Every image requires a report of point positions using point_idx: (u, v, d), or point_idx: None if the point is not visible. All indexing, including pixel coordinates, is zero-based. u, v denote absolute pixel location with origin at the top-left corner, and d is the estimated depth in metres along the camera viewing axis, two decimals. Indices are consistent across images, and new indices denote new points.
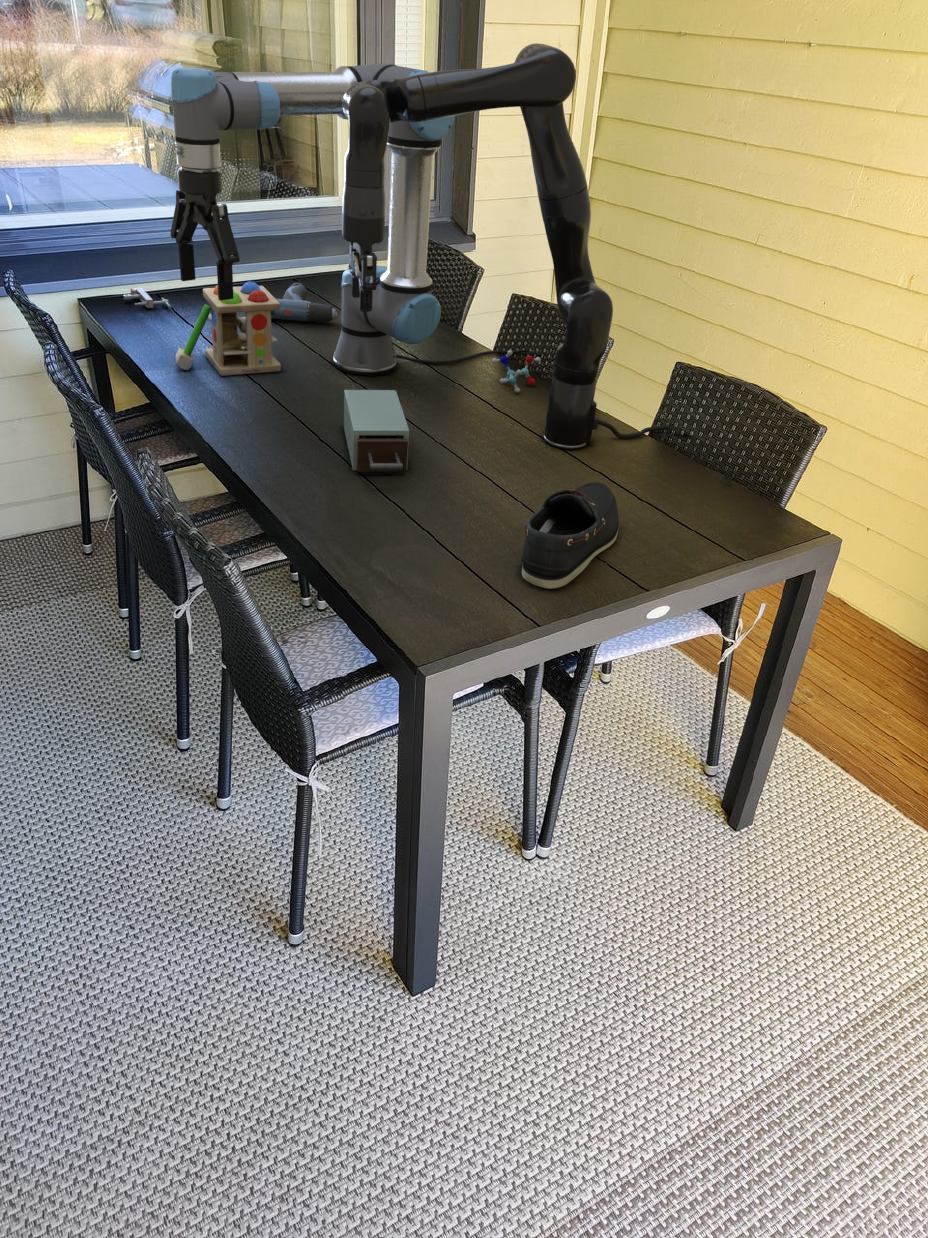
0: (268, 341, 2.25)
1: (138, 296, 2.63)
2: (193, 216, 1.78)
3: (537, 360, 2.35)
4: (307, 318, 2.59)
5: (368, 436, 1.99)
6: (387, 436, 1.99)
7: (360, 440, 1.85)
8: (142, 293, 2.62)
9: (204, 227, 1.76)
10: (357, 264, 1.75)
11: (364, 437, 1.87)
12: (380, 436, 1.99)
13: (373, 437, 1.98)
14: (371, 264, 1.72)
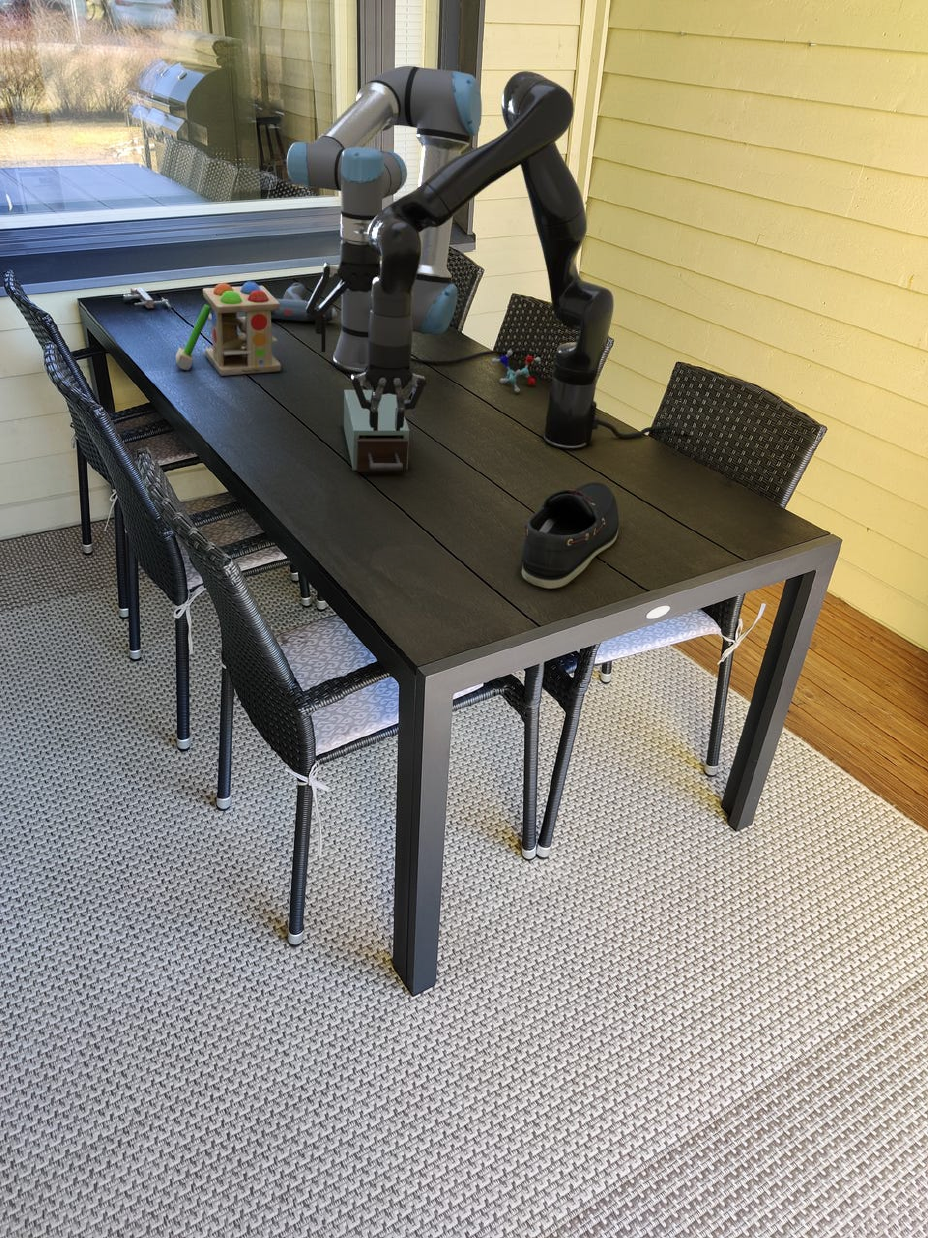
0: (268, 341, 2.25)
1: (138, 296, 2.63)
2: (353, 286, 1.86)
3: (537, 360, 2.35)
4: (307, 318, 2.59)
5: (368, 436, 1.99)
6: (387, 436, 1.99)
7: (360, 440, 1.85)
8: (142, 293, 2.62)
9: None
10: None
11: (364, 437, 1.87)
12: (380, 436, 1.99)
13: (373, 437, 1.98)
14: None
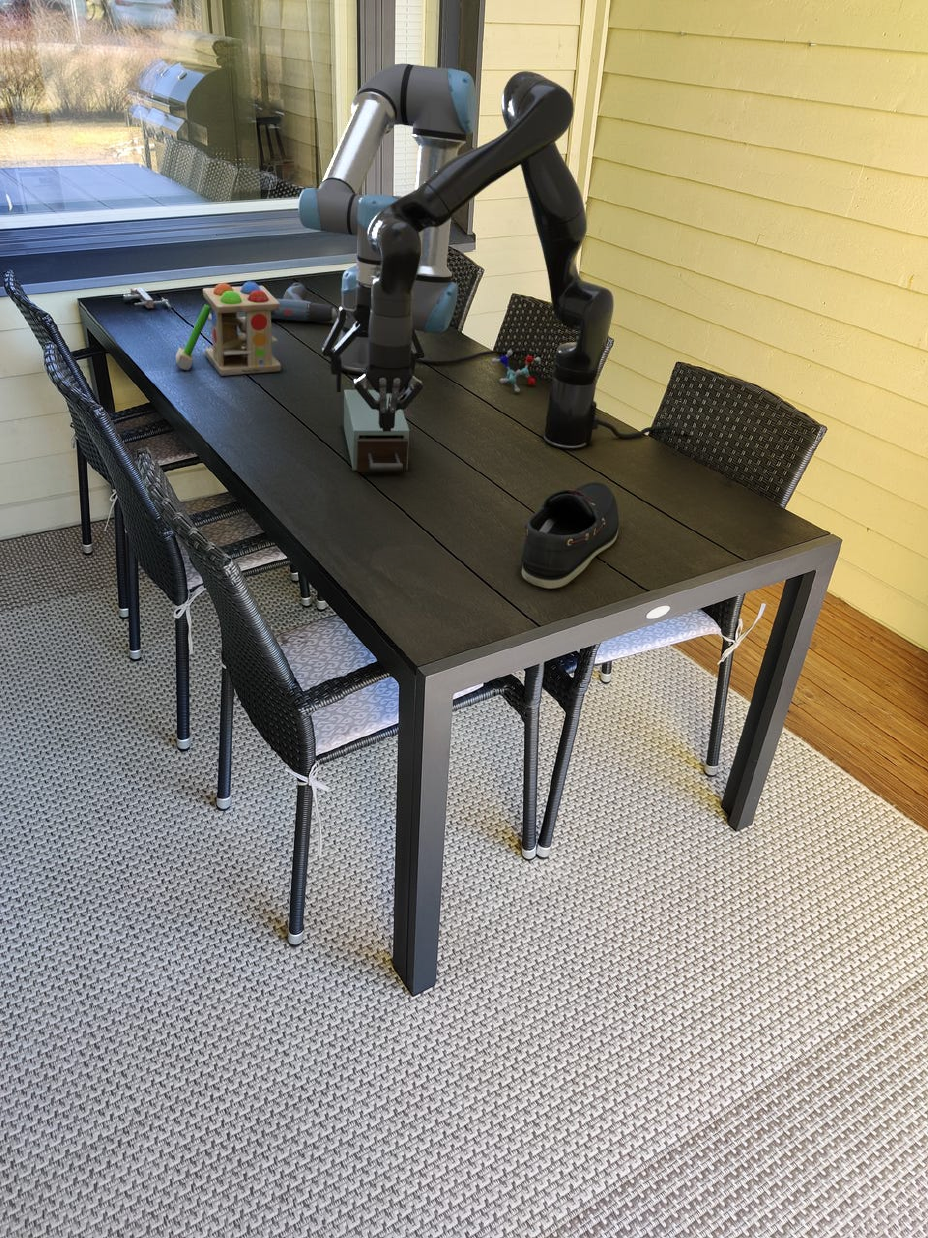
0: (268, 341, 2.25)
1: (138, 296, 2.63)
2: None
3: (537, 360, 2.35)
4: (307, 318, 2.59)
5: (368, 436, 1.99)
6: (387, 436, 1.99)
7: (360, 440, 1.85)
8: (142, 293, 2.62)
9: None
10: None
11: (364, 437, 1.87)
12: (380, 436, 1.99)
13: (373, 437, 1.98)
14: None
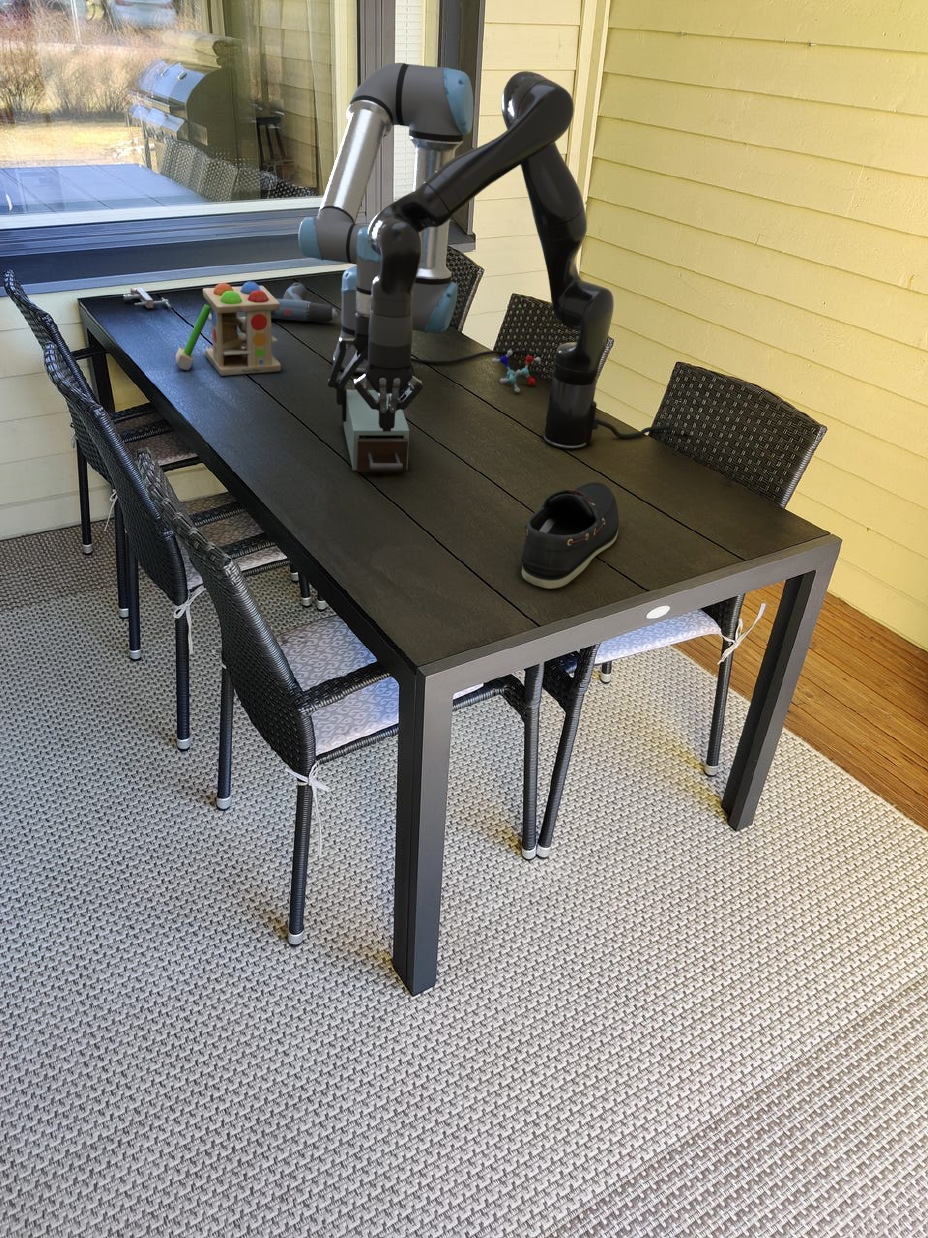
0: (268, 341, 2.25)
1: (138, 296, 2.63)
2: None
3: (537, 360, 2.35)
4: (307, 318, 2.59)
5: (368, 436, 1.99)
6: (387, 436, 1.99)
7: (360, 440, 1.85)
8: (142, 293, 2.62)
9: None
10: None
11: (364, 437, 1.87)
12: (380, 436, 1.99)
13: (373, 437, 1.98)
14: None
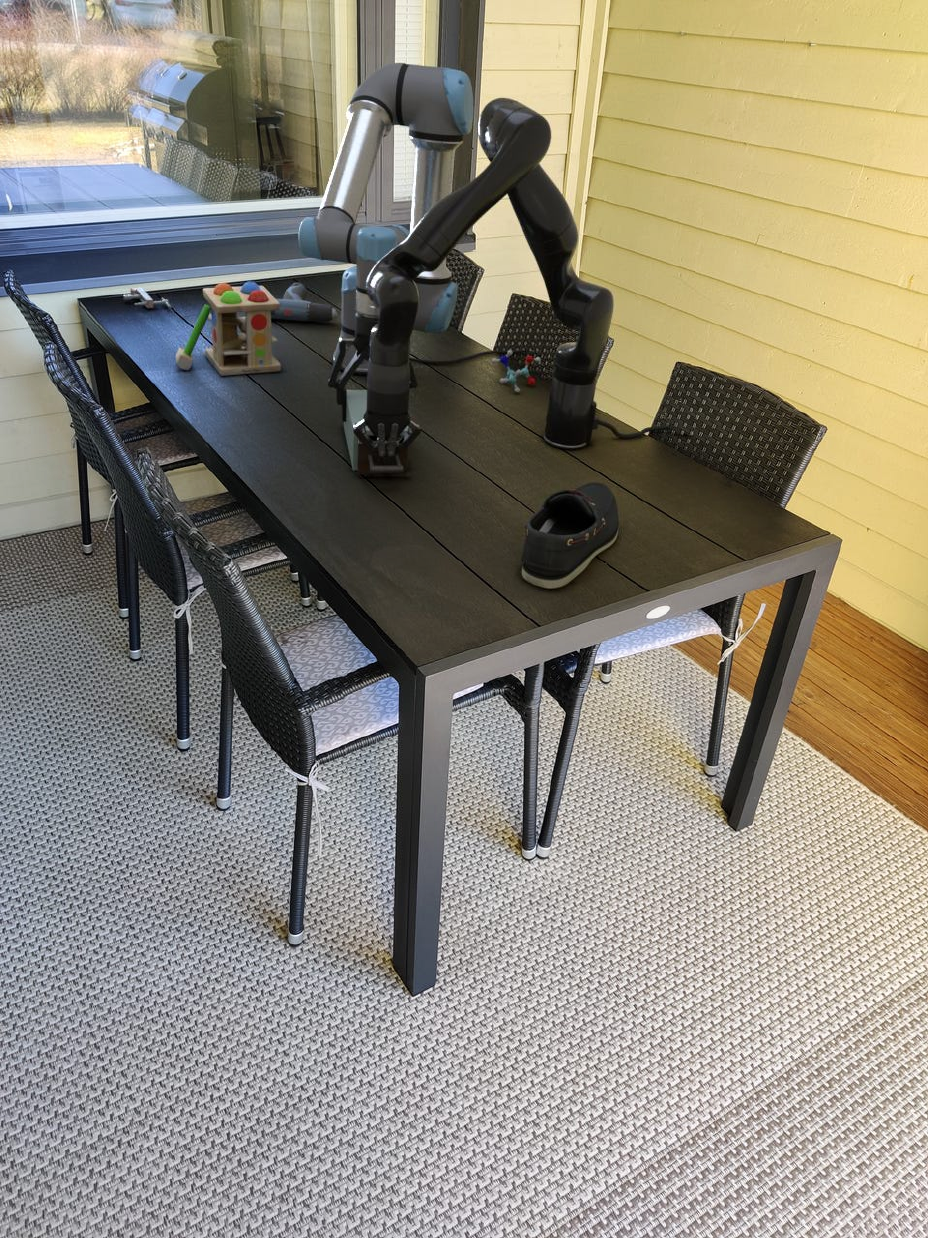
0: (268, 341, 2.25)
1: (138, 296, 2.63)
2: (368, 356, 1.94)
3: (537, 360, 2.35)
4: (307, 318, 2.59)
5: None
6: None
7: (360, 442, 1.84)
8: (142, 293, 2.62)
9: None
10: None
11: None
12: None
13: (374, 439, 1.98)
14: None
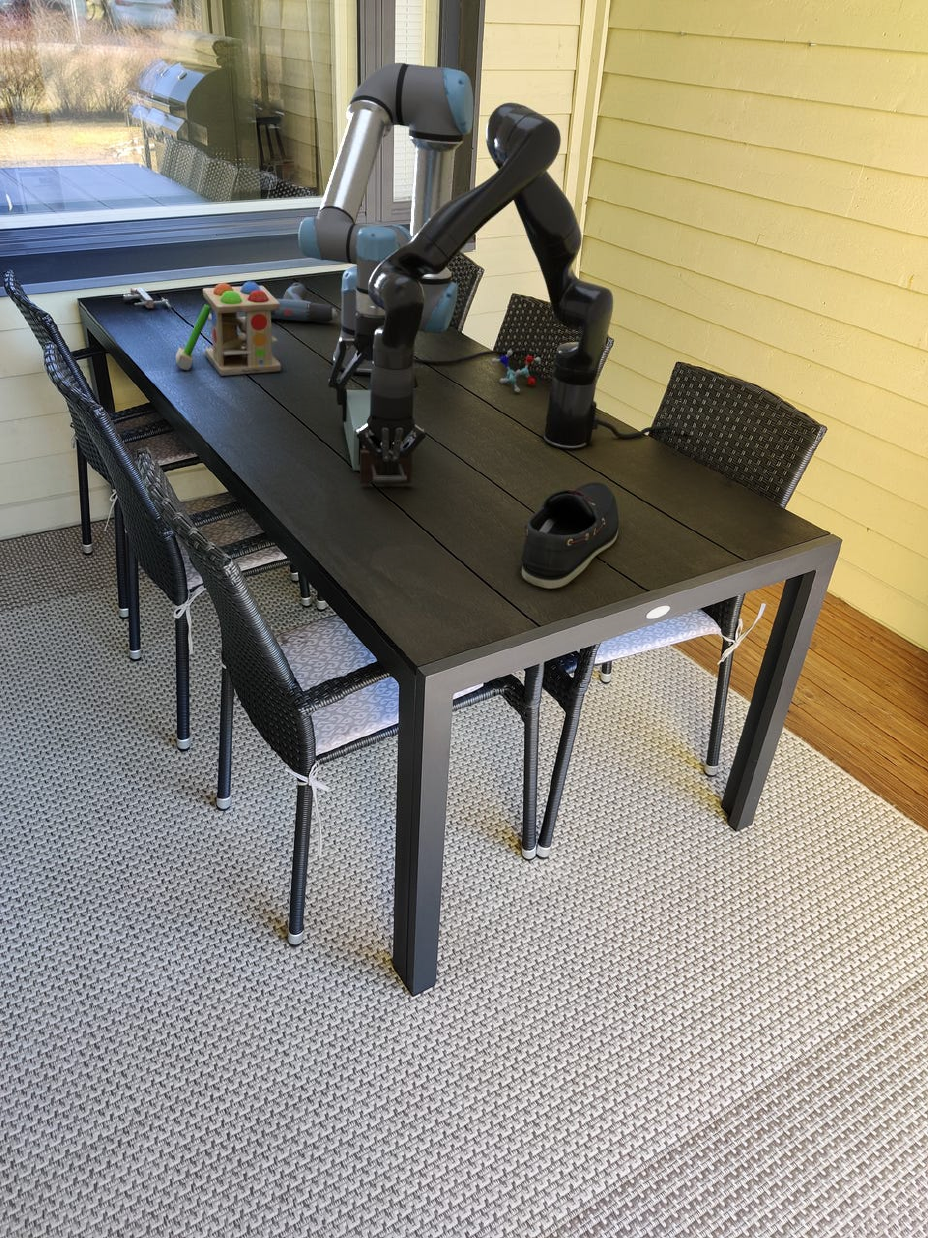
0: (268, 341, 2.25)
1: (138, 296, 2.63)
2: (368, 356, 1.94)
3: (537, 360, 2.35)
4: (307, 318, 2.59)
5: None
6: (390, 447, 1.95)
7: (363, 451, 1.80)
8: (142, 293, 2.62)
9: None
10: None
11: None
12: None
13: None
14: None
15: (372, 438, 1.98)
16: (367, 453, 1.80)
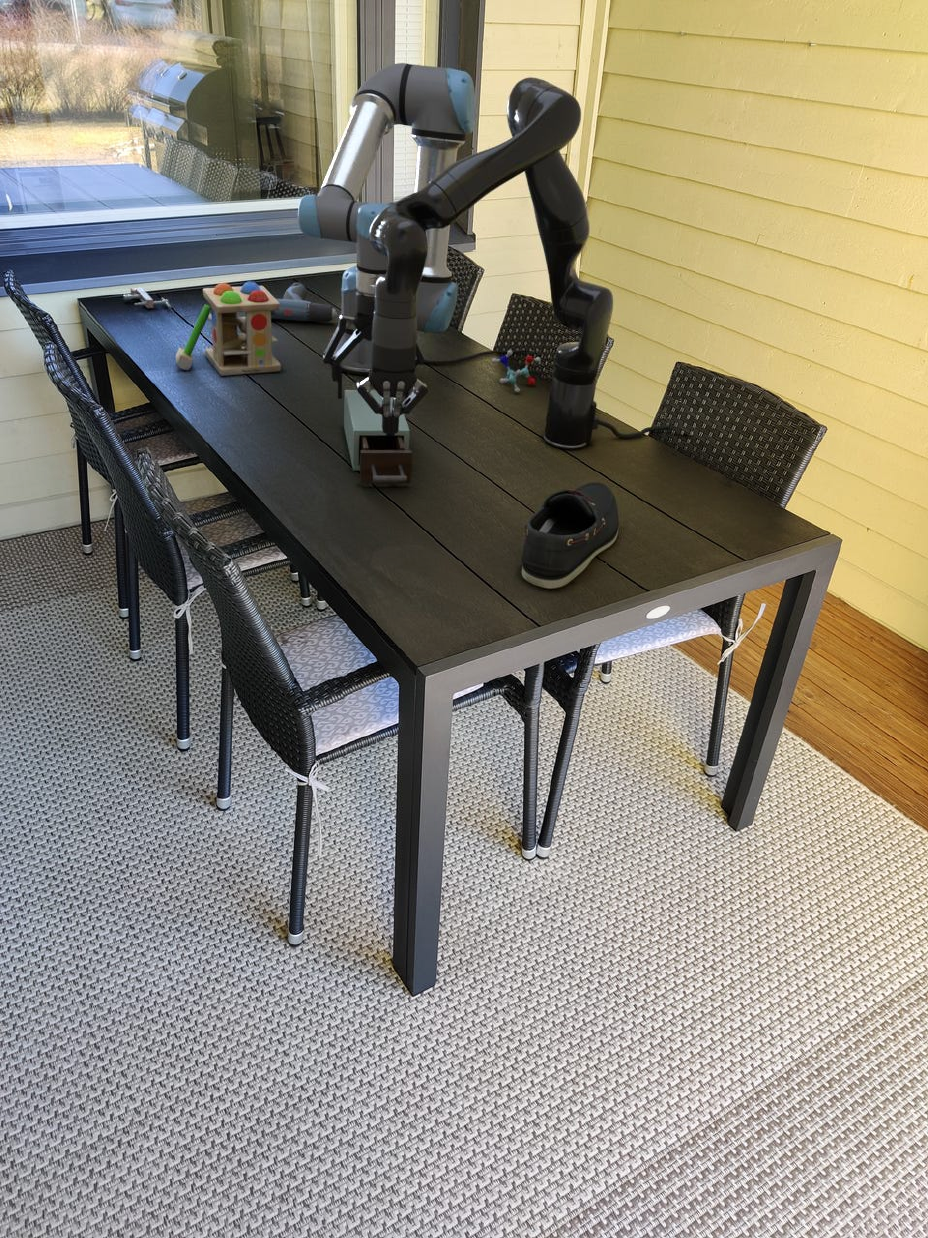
0: (268, 341, 2.25)
1: (138, 296, 2.63)
2: (369, 335, 1.92)
3: (537, 360, 2.35)
4: (307, 318, 2.59)
5: (371, 447, 1.95)
6: (390, 447, 1.95)
7: (363, 452, 1.80)
8: (142, 293, 2.62)
9: None
10: None
11: (367, 448, 1.83)
12: (383, 447, 1.95)
13: (376, 448, 1.94)
14: None
15: (372, 438, 1.98)
16: (367, 453, 1.80)
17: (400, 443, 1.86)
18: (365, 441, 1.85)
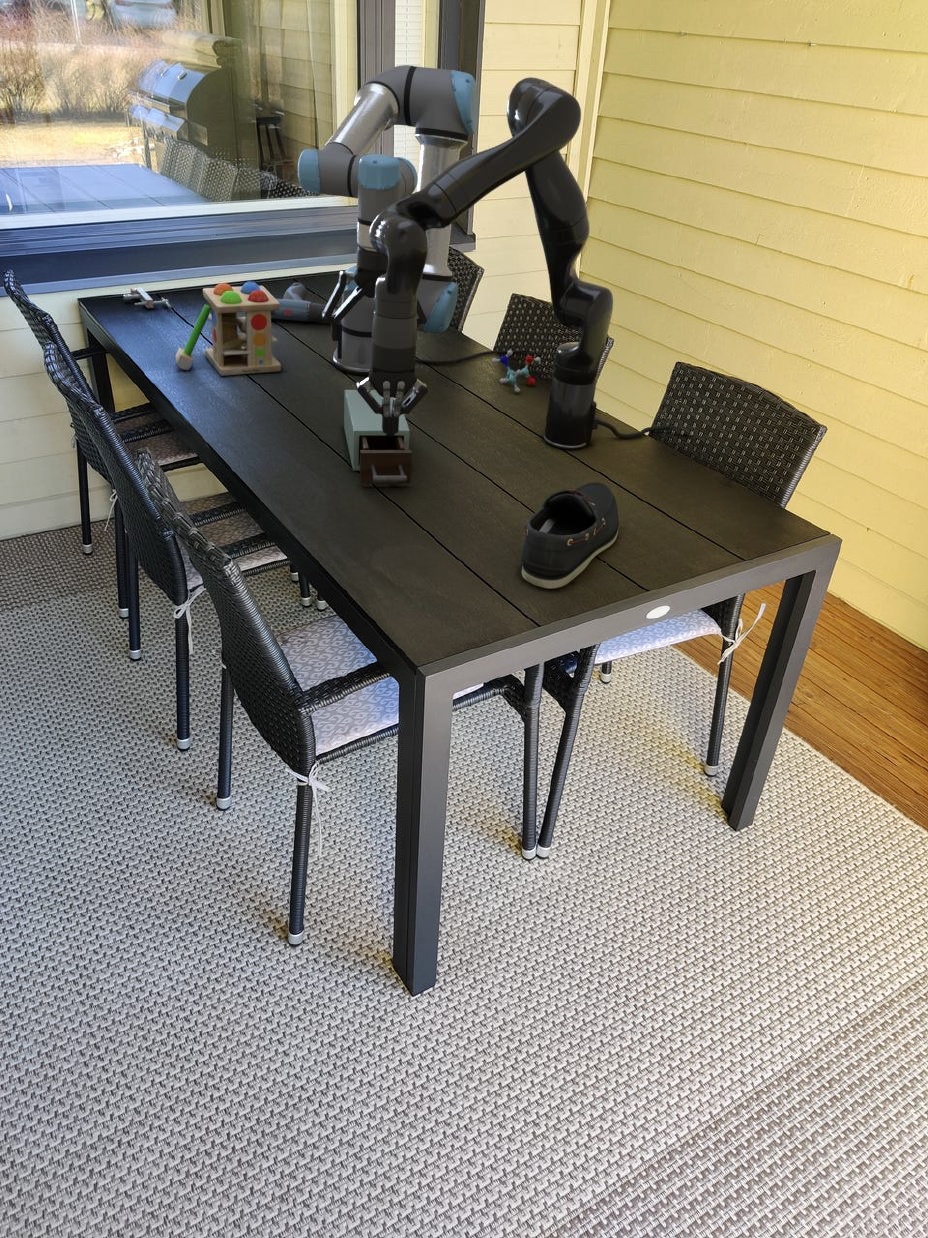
0: (268, 341, 2.25)
1: (138, 296, 2.63)
2: (370, 292, 1.87)
3: (537, 360, 2.35)
4: (307, 318, 2.59)
5: (371, 447, 1.95)
6: (390, 447, 1.95)
7: (363, 452, 1.80)
8: (142, 293, 2.62)
9: None
10: None
11: (367, 448, 1.83)
12: (383, 447, 1.95)
13: (376, 448, 1.94)
14: None
15: (372, 438, 1.98)
16: (367, 453, 1.80)
17: (400, 443, 1.86)
18: (365, 441, 1.85)
